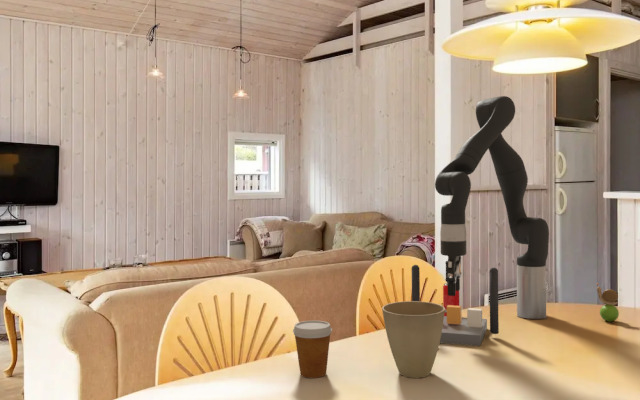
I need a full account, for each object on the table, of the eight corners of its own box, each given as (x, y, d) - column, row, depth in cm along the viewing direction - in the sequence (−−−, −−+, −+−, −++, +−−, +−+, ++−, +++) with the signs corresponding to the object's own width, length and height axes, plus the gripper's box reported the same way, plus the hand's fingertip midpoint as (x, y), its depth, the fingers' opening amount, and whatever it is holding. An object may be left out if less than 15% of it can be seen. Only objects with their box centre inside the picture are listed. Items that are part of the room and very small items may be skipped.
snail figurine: (598, 318, 190) (598, 281, 190) (620, 320, 187) (619, 283, 186) (595, 321, 186) (594, 284, 186) (617, 324, 182) (617, 286, 182)
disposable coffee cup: (319, 383, 134) (318, 331, 134) (285, 376, 139) (284, 326, 139) (340, 371, 142) (339, 322, 142) (307, 365, 147) (306, 318, 147)
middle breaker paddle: (461, 322, 174) (461, 306, 174) (460, 324, 172) (460, 307, 171) (448, 321, 175) (447, 305, 175) (446, 323, 173) (446, 306, 173)
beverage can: (440, 319, 192) (439, 283, 192) (452, 317, 194) (452, 282, 194) (450, 323, 188) (449, 286, 187) (462, 321, 190) (462, 284, 189)
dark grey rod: (420, 326, 178) (420, 264, 178) (419, 328, 176) (418, 265, 176) (413, 325, 179) (412, 264, 179) (411, 327, 177) (410, 265, 176)
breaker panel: (487, 328, 180) (486, 302, 179) (480, 346, 161) (479, 317, 161) (432, 324, 186) (431, 299, 186) (419, 341, 167) (419, 313, 167)
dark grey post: (498, 332, 170) (498, 267, 169) (498, 334, 168) (497, 268, 167) (490, 331, 171) (489, 266, 170) (489, 333, 169) (489, 268, 168)
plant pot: (380, 363, 147) (379, 301, 147) (439, 363, 147) (438, 300, 146) (385, 384, 132) (384, 315, 132) (451, 383, 132) (450, 314, 131)
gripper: (462, 241, 165) (463, 298, 165) (469, 236, 178) (469, 289, 178) (436, 241, 167) (437, 297, 168) (444, 236, 181) (445, 288, 181)
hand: (453, 293), depth 173 cm, fingers open, 8 cm apart
